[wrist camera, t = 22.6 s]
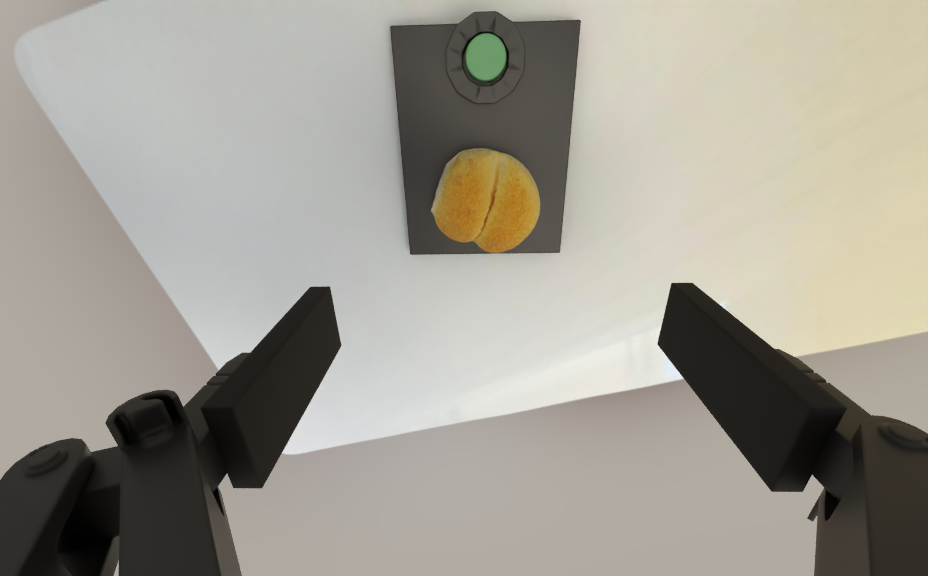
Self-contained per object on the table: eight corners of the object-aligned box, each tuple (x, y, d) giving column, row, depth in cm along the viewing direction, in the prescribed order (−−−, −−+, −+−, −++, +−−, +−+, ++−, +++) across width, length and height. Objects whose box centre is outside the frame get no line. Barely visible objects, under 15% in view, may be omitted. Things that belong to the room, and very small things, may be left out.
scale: (392, 23, 29) (384, 14, 26) (577, 17, 29) (588, 7, 26) (412, 250, 37) (407, 261, 34) (557, 248, 36) (564, 259, 34)
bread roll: (516, 256, 36) (521, 273, 32) (425, 224, 35) (419, 238, 31) (555, 171, 32) (565, 179, 29) (455, 132, 31) (452, 135, 28)
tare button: (465, 38, 27) (465, 33, 26) (504, 36, 27) (506, 32, 25) (466, 82, 28) (465, 81, 27) (504, 81, 28) (505, 79, 27)
